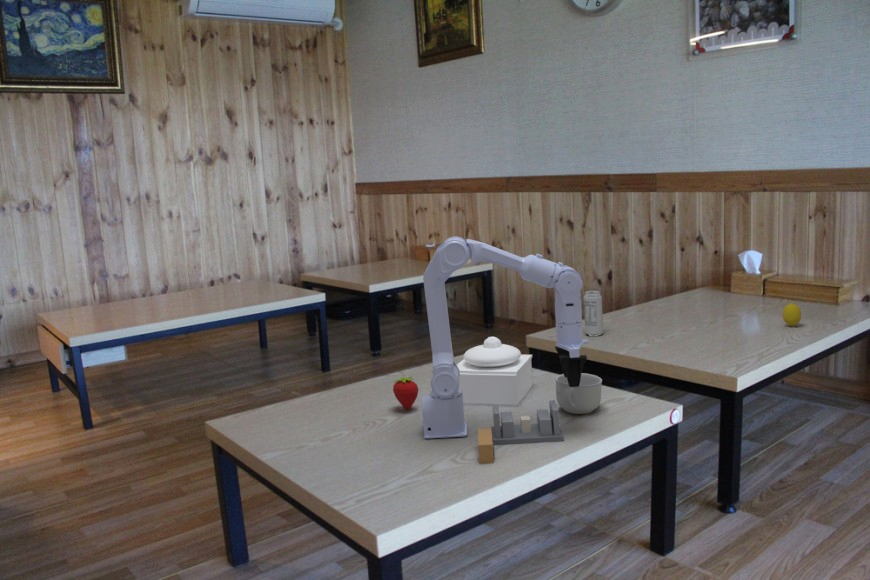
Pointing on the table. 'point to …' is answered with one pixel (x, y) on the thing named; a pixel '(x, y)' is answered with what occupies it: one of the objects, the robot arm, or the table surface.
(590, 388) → the teacup
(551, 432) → the display stand
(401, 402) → the strawberry
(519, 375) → the butter dish
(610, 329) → the table surface
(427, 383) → the table surface
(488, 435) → the orange-brown rectangular block
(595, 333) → the energy drink can
